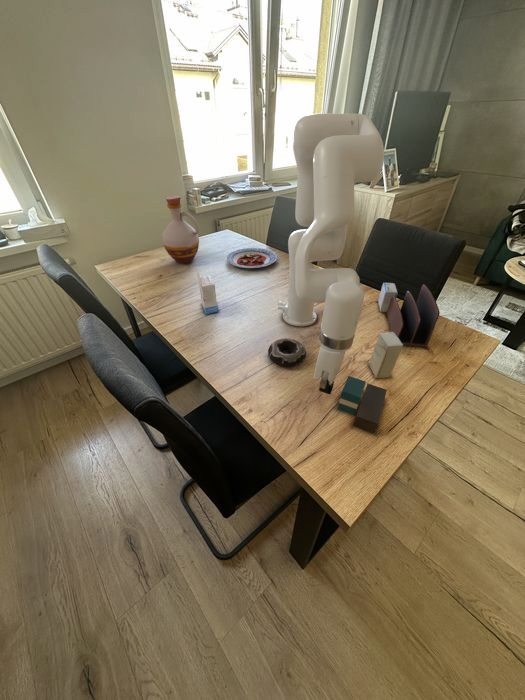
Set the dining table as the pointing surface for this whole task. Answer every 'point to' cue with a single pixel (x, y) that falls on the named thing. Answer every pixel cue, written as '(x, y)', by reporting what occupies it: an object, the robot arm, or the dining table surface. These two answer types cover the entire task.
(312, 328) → the dining table surface
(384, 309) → the medicine box
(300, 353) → the donut
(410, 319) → the letter holder
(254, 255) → the ceramic plate
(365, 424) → the dark block
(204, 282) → the ink box
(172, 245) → the jug
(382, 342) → the cosmetic box
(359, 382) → the teal carton
